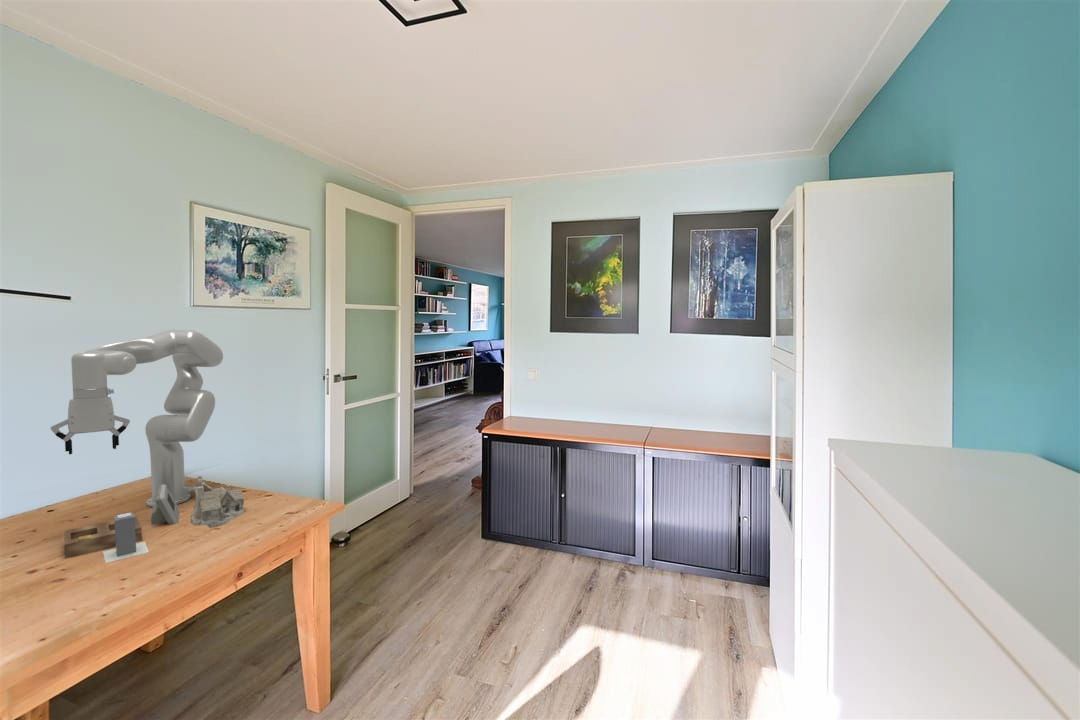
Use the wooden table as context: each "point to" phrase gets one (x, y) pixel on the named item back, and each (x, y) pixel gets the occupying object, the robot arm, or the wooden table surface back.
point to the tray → (112, 556)
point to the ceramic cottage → (216, 505)
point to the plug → (125, 534)
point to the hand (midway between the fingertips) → (93, 450)
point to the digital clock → (164, 507)
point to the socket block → (93, 538)
